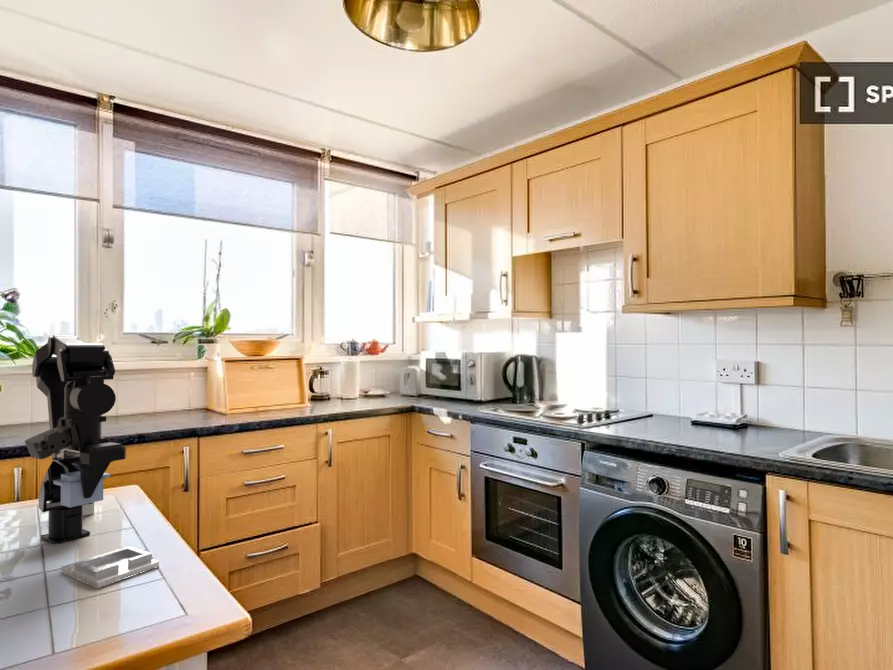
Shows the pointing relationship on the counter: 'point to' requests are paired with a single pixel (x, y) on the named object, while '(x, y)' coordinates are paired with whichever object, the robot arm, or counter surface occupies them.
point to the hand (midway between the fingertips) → (82, 496)
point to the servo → (77, 490)
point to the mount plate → (111, 566)
